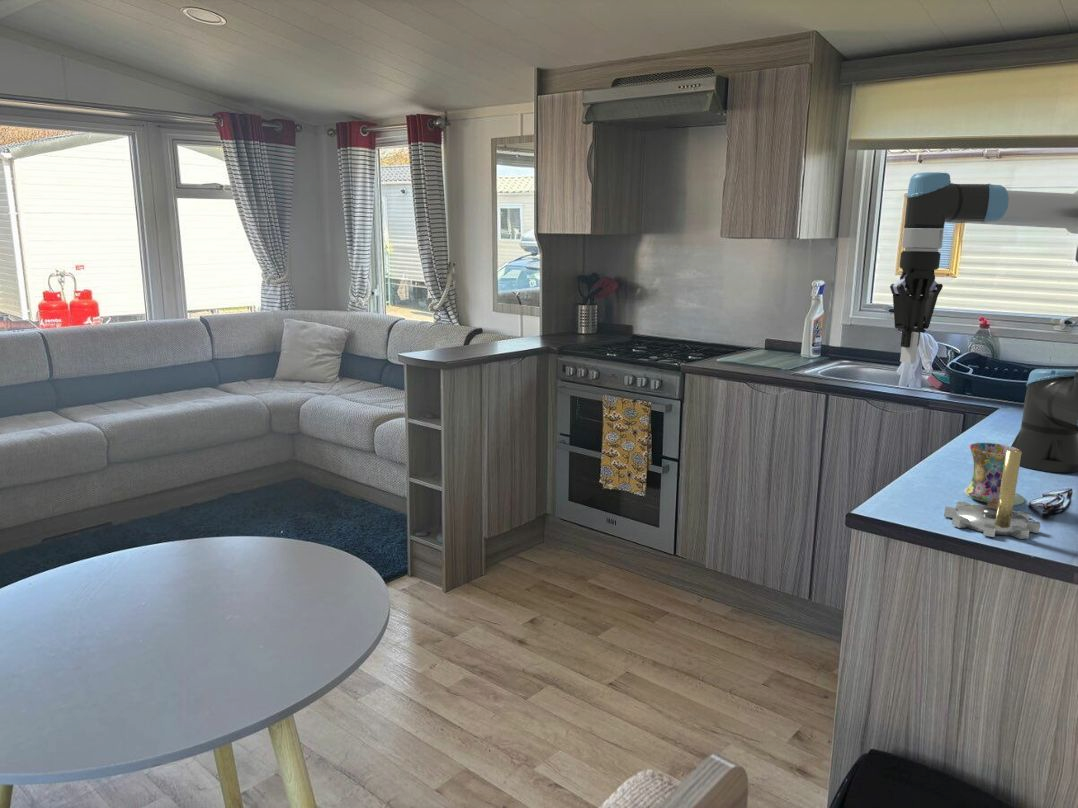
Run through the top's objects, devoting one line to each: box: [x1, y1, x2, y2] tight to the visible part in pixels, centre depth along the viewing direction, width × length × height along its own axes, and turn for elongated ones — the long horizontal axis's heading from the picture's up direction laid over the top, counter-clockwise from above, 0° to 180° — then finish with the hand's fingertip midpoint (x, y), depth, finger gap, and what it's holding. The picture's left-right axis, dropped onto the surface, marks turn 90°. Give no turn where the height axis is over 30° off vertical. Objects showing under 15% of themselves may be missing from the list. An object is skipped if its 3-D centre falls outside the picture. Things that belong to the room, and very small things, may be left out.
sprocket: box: [943, 449, 1041, 540], centre depth 149 cm, size 15×15×16 cm
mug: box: [965, 442, 1022, 502], centre depth 165 cm, size 12×9×11 cm
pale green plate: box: [963, 487, 1026, 506], centre depth 167 cm, size 11×11×1 cm
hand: (907, 362), depth 171 cm, fingers closed
